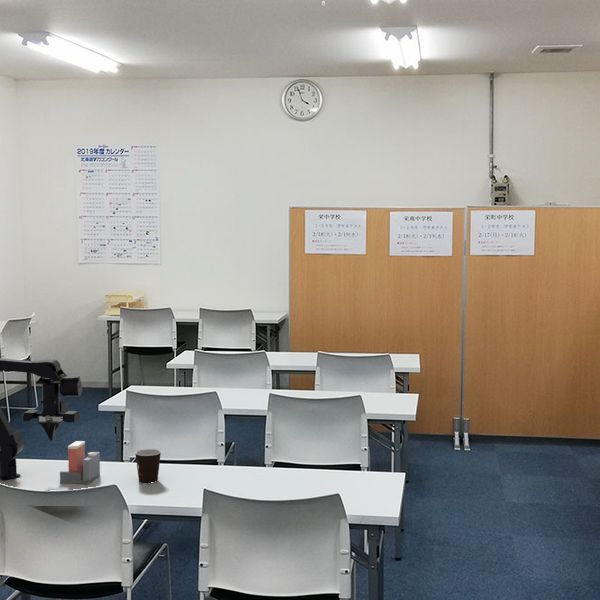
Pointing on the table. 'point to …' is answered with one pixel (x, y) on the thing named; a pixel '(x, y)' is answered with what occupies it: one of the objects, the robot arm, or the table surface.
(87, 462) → the grey stepped block
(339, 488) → the table surface
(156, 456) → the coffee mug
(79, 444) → the red rectangular block
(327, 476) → the table surface
